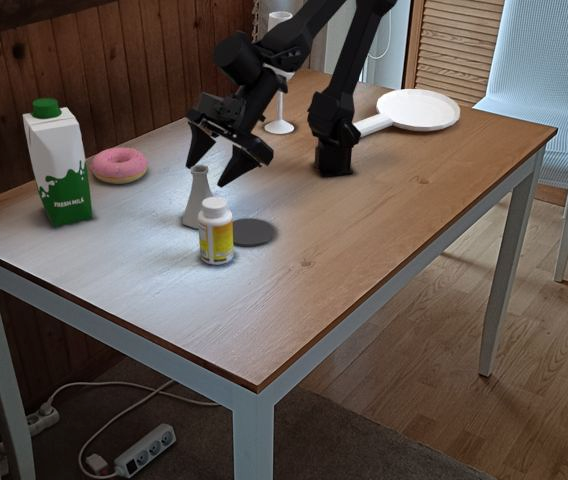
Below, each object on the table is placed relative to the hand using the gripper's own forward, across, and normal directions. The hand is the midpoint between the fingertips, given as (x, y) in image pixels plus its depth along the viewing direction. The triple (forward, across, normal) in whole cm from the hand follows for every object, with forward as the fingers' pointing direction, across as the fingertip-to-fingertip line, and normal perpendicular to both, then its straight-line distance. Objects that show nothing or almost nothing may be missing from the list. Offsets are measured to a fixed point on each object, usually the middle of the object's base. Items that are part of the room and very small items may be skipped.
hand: (202, 177), depth 129 cm
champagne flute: (-21, -23, +32) cm, 45 cm away
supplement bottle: (+10, +12, +2) cm, 16 cm away
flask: (+6, 0, +6) cm, 9 cm away
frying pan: (-35, -7, +47) cm, 59 cm away
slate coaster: (+4, +9, +8) cm, 13 cm away
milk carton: (+19, -17, -7) cm, 26 cm away
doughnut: (+8, -25, +4) cm, 27 cm away
